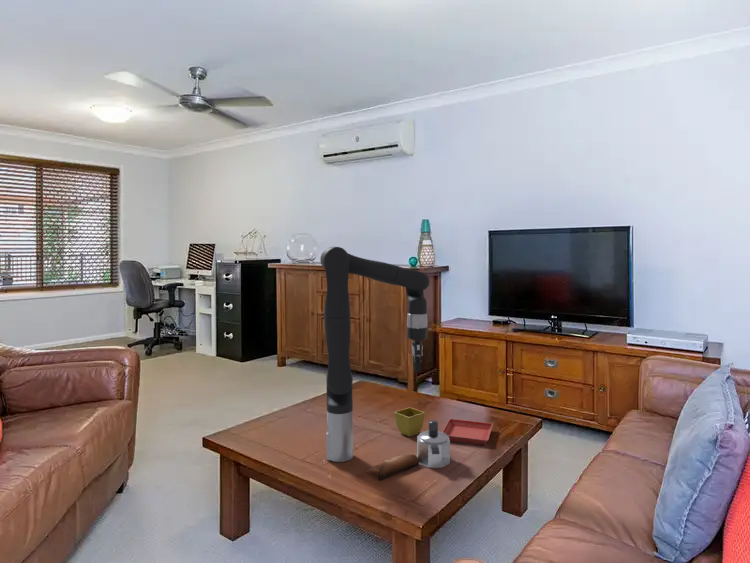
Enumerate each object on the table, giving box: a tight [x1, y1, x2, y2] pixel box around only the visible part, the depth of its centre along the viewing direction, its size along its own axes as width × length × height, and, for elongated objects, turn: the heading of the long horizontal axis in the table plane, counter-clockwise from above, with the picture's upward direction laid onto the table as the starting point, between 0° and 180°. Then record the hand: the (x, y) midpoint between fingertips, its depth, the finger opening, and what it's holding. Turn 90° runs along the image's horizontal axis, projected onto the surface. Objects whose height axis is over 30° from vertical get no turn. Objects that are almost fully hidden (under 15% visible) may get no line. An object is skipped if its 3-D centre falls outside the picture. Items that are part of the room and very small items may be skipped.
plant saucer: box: [441, 418, 494, 446], centre depth 199 cm, size 18×18×3 cm
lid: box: [418, 419, 448, 444], centre depth 175 cm, size 10×10×8 cm
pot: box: [416, 434, 451, 469], centre depth 176 cm, size 11×17×8 cm, turn 179°
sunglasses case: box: [365, 454, 420, 481], centre depth 170 cm, size 18×7×7 cm
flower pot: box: [394, 406, 425, 437], centre depth 201 cm, size 9×9×9 cm
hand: (417, 369), depth 185 cm, fingers open, 8 cm apart
